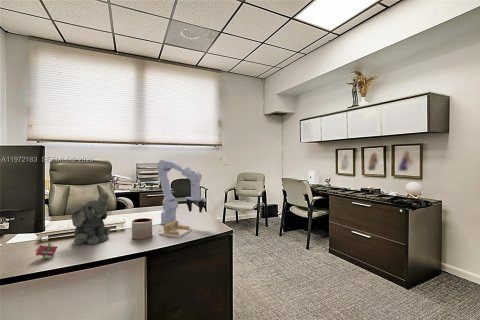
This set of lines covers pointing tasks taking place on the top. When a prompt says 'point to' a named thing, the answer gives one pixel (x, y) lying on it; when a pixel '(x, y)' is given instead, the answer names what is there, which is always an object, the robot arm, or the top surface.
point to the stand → (181, 233)
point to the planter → (141, 228)
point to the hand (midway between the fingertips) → (195, 211)
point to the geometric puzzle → (46, 250)
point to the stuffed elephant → (91, 221)
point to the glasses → (174, 224)
